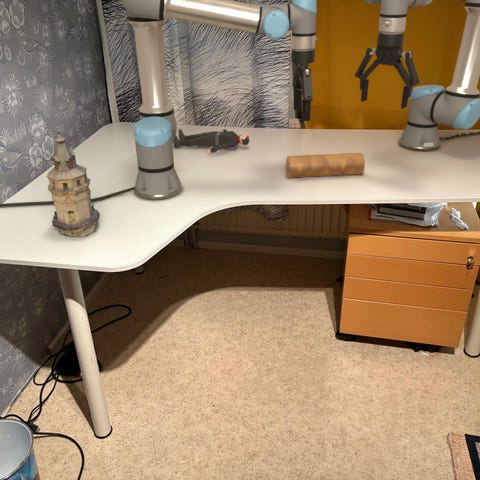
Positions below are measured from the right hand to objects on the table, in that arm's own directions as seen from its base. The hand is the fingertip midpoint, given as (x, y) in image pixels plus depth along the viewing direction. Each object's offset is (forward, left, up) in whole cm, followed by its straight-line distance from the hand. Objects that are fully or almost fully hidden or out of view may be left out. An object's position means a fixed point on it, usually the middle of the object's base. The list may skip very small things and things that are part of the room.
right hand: (383, 104), depth 167 cm
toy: (+16, -67, -27) cm, 74 cm away
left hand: (+11, -25, -7) cm, 28 cm away
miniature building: (+89, -39, -27) cm, 101 cm away
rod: (+6, -17, -27) cm, 33 cm away
